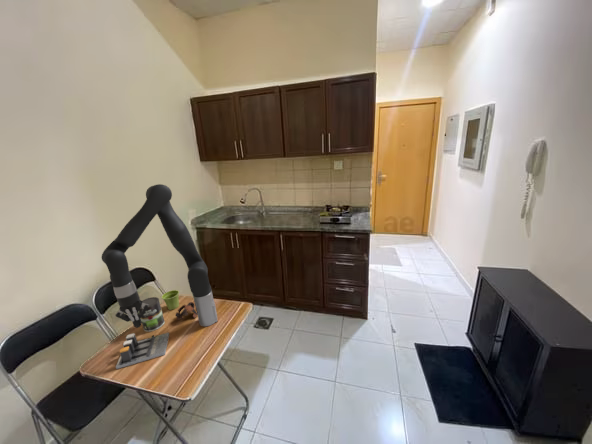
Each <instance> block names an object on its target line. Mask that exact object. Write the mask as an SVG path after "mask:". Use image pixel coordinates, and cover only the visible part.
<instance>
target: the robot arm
mask: <svg viewBox="0 0 592 444" xmlns="http://www.w3.org/2000/svg"><path fill="white" fill-rule="evenodd" d="M145 196H146V200H145V202H144V203H143V205H142V206H141V208H139V210H138V211H137V212H136V213H135V214H134V216H132V218H131V219H130V220H129V221H128V222H127V223H126V225H124V227H123V228H122V229H121V230H120V232H119V234H117V236H116V238H114V239H113V241H111V242H110V244H109V245H107V247H106V248H105V249H104V250H103V252H102V253H101V261H102V262H103V263H104V264H105V265H106V268H107V270H108V272H109V278H110V279H109V280H110V281H111V285H112V287H113V292H114V296H115V297H116V301H117V303H118V306H119V310H118V311H117V312H116V313H115V317H116V318H118V319H120V320H123V321H125V322H127V323H128V322H132V324H133V327H135V328H136V329H137V328H140V327H141V326H142V321H141V318H142V317H143V315H144V313H145V312H146V310H147V308H148V305H149V303H146V304H145V303H142V301H143V300H141V298H140V296H139V292H138V289H137V286H136V284H135V281H134V280H133V277H132V274H131V272H130V270H129V263H128V258H127V256H126V254H125V253H126V252H127V251H128V249H130V248H131V247H133V246H135V244H137V242H138V240H139V239H140V238H141V236H142V235H143V233H144V231H145V230H146V229H147V227H148V226H149V225H150V223H151V222H152V221H153V219H154V218H155V217H156V216H157V217H158V219H159V220H160V223H161V224H162V227H163V229H164V231H165V233H166V236H167V238H168V239H169V241H170V243H171V245H172V247H173V248H174V249H175V250H176V251H177V252H178V253H179V254H180V255H181V256H182V258H183V259H184V261H185V264H186V266H187V269H188V272H187V282H188V284H189V289H190V291H191V293H192V298H193V303H194V308H195V311H196V313H197V319H198V323H199V326H201V327H210V326H212V325H213V324H215V323H217V322H218V313H217V308H216V303H215V300H214V296H213V290H212V286H211V284H210V280H209V275H208V271H209V270H208V269H209V268H208V266H207V264H206V262H205V261H204V259H203V258H202V256H201V255H200V253H199V251H198V249H197V247H196V244H195V241H194V240H193V238H192V235H191V233H190V231H189V229H188V228H187V226H186V224H185V223H184V221H183V219H181V218H180V216H179V215H178V214H177V212H175V210H174V208H173V206H172V204H171V200H172V197H173V194H172V190H171V188H170V186H169V187H168V186H167V185H166V184H161V183H160V184H159V183H158V184H154V185H151V186H149V187H148V188H147V189H146V191H145ZM141 306H142V308H143V310H142V312H141V314H139V310H140V308H141Z"/></svg>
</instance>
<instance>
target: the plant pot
mask: <svg viewBox="0 0 592 444" xmlns="http://www.w3.org/2000/svg"><path fill="white" fill-rule="evenodd" d="M179 294H180V291H179V290H177V289H171V290H170V291H167V292H165V293H163V294H162V296H161V299H162V300H163V301H164V303H165V305H166V308H167V309H168V310H169V311H171V310H175V309H177V308H179V307H180V300H179Z"/></svg>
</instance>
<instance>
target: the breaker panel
mask: <svg viewBox="0 0 592 444" xmlns="http://www.w3.org/2000/svg"><path fill="white" fill-rule="evenodd" d="M169 338H170V333H169V332H166V333H162V334H159V335H156V336H155V335H152V336H151V337H147V338H144V339H141V340H137V342H138V343H137V345H136V346H134V347H135V351H134V352H133V353H131V354H132V358H131V360H128V361H125V362H123V360H122V358H121V355H120V356H119V358H118V360H117V363H116V365H115V369H116V370H120V369H123V368H126V367H129V366H132V365H136V364H139V363H143V362H145V361H148V360H149V361H150V360H152V359H156V358H159V357H162V356H165V355H166V352H167V347H168V344H169Z"/></svg>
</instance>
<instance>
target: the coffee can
mask: <svg viewBox="0 0 592 444" xmlns="http://www.w3.org/2000/svg"><path fill="white" fill-rule="evenodd" d="M141 301H142V303H145V304H146V303H149V305H148V308H147V310H146V312H145V313H144V315H143V317H142V318H141V321H142V324H141V326H142V329H143V331H144V332H148V333H150V332H154V331H156V330H158V329H160V328H161V327H162V326H164V324H165V323H166V321H165V317H164V315H163V310H162V306H161V303H160V298H159V297H157V296H156V297H155V296H153V297H148V298H145V299H143V300H141ZM142 310H143V308H142V306H141V308H140V310H139V314H141V312H142Z"/></svg>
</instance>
